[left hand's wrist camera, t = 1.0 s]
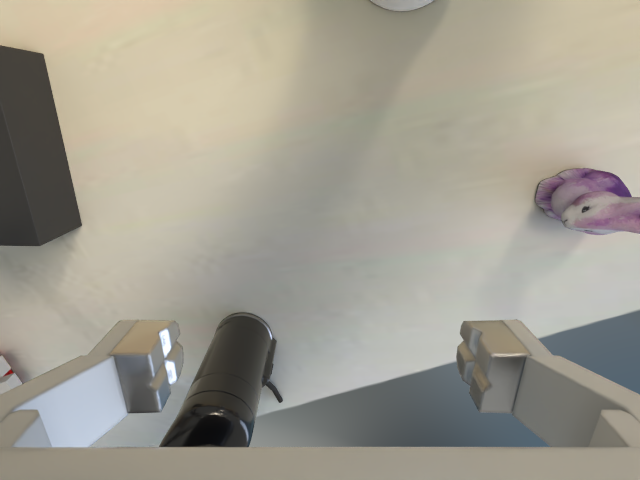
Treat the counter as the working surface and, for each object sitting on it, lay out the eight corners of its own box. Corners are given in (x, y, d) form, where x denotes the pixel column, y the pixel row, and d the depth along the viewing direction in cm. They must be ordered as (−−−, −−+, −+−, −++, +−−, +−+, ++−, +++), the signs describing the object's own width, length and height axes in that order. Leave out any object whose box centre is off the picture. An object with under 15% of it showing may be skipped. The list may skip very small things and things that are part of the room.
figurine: (517, 196, 52) (590, 229, 38) (581, 147, 50) (684, 163, 36) (550, 241, 54) (631, 288, 40) (613, 196, 52) (721, 229, 38)
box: (-4, 53, 46) (-74, 41, 38) (43, 53, 46) (-16, 42, 38) (41, 224, 54) (-8, 245, 46) (82, 225, 54) (39, 246, 46)
